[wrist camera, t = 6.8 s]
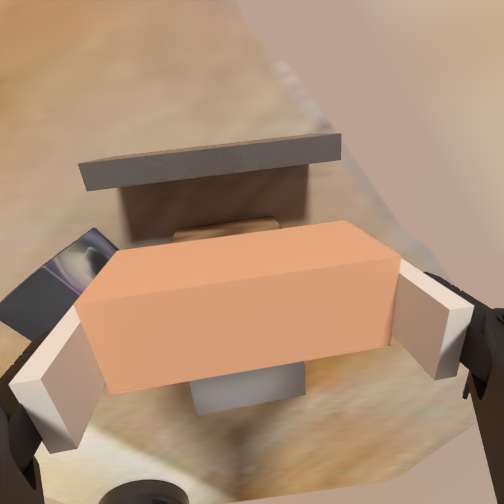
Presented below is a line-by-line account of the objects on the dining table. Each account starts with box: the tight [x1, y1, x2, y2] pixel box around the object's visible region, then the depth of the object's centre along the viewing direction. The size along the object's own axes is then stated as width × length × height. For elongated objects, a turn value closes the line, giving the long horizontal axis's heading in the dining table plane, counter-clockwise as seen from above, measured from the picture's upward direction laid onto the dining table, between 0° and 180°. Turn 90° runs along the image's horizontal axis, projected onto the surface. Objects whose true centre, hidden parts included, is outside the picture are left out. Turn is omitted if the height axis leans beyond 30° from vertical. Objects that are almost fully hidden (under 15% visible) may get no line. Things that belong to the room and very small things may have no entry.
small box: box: [0, 228, 119, 341], centre depth 28 cm, size 11×6×10 cm, turn 38°
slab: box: [188, 361, 306, 416], centre depth 30 cm, size 12×14×4 cm
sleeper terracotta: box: [73, 220, 402, 395], centre depth 12 cm, size 11×4×4 cm, turn 95°
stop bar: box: [78, 134, 341, 191], centre depth 25 cm, size 20×2×8 cm, turn 96°
